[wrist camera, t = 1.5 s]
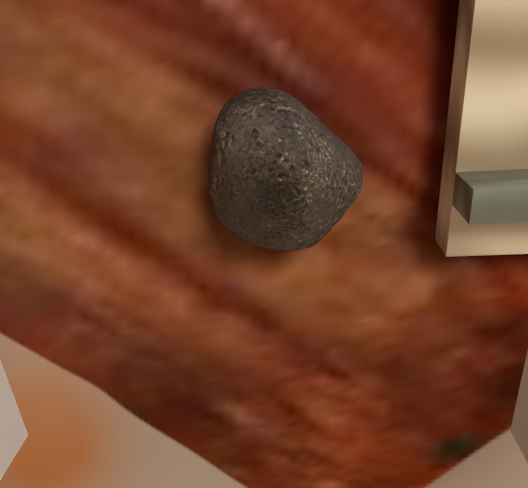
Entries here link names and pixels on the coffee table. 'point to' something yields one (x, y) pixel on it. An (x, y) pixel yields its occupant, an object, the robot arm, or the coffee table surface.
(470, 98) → the cream and green rack
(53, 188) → the coffee table surface
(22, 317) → the coffee table surface
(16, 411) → the robot arm
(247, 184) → the stone
